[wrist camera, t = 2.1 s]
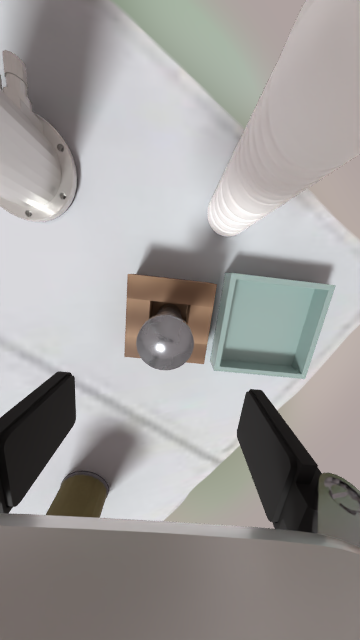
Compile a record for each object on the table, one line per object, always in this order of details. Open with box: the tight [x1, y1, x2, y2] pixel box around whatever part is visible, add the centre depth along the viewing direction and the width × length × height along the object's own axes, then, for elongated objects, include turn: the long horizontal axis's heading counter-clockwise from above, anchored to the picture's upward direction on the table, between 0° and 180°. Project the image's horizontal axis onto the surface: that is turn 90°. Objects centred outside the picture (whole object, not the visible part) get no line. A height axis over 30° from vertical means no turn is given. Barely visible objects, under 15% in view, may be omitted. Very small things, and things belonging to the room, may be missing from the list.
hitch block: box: [125, 274, 217, 364], centre depth 27 cm, size 12×12×5 cm
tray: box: [210, 273, 336, 379], centre depth 29 cm, size 16×16×4 cm
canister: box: [46, 471, 109, 518], centre depth 30 cm, size 11×10×20 cm
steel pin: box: [136, 304, 194, 370], centre depth 23 cm, size 6×6×12 cm
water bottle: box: [207, 0, 360, 237], centre depth 14 cm, size 9×6×25 cm
